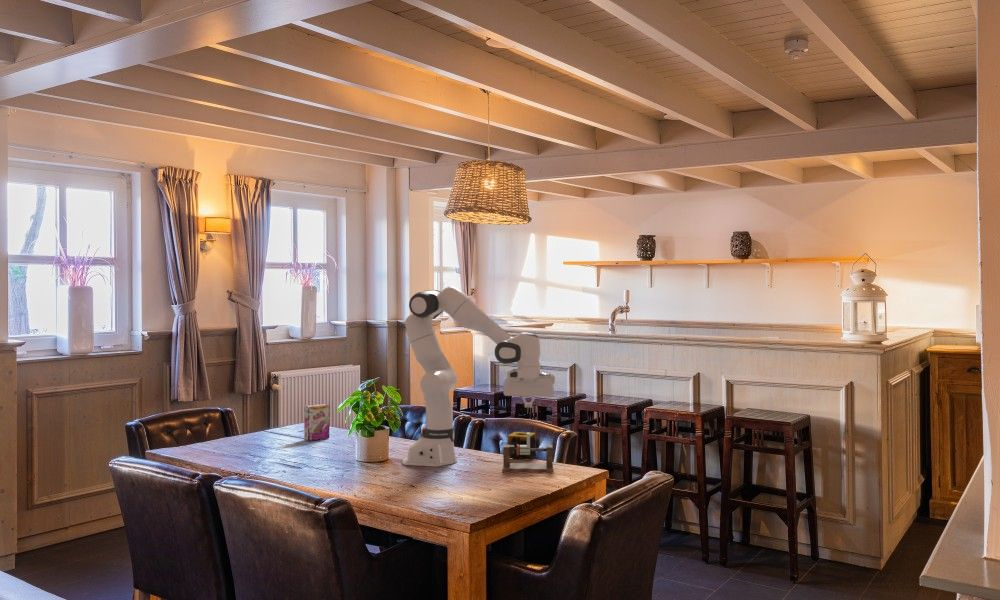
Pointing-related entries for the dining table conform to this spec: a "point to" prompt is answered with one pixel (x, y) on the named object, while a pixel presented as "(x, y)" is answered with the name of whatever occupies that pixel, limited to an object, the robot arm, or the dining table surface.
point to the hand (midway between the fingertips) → (528, 407)
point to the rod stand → (527, 466)
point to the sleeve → (526, 446)
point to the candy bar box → (316, 422)
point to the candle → (521, 439)
